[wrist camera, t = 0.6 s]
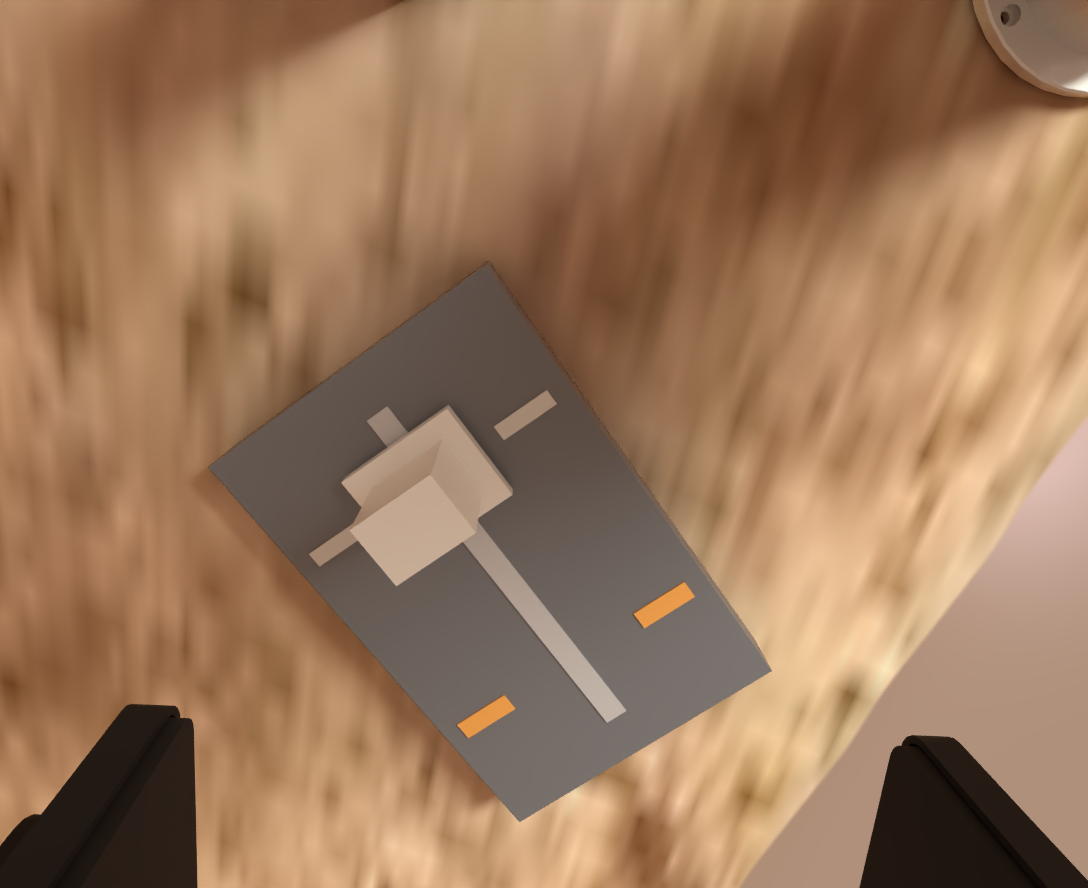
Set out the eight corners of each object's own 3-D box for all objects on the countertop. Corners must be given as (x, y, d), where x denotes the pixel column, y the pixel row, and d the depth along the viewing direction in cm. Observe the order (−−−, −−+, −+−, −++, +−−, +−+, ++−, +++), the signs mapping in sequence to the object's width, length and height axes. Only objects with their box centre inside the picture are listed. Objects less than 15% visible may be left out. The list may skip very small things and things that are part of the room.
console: (488, 261, 37) (485, 265, 34) (755, 640, 43) (772, 672, 40) (230, 448, 39) (207, 467, 36) (519, 783, 46) (519, 823, 43)
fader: (448, 404, 36) (435, 440, 30) (512, 488, 37) (511, 538, 31) (344, 477, 36) (313, 524, 31) (411, 557, 38) (392, 617, 32)
